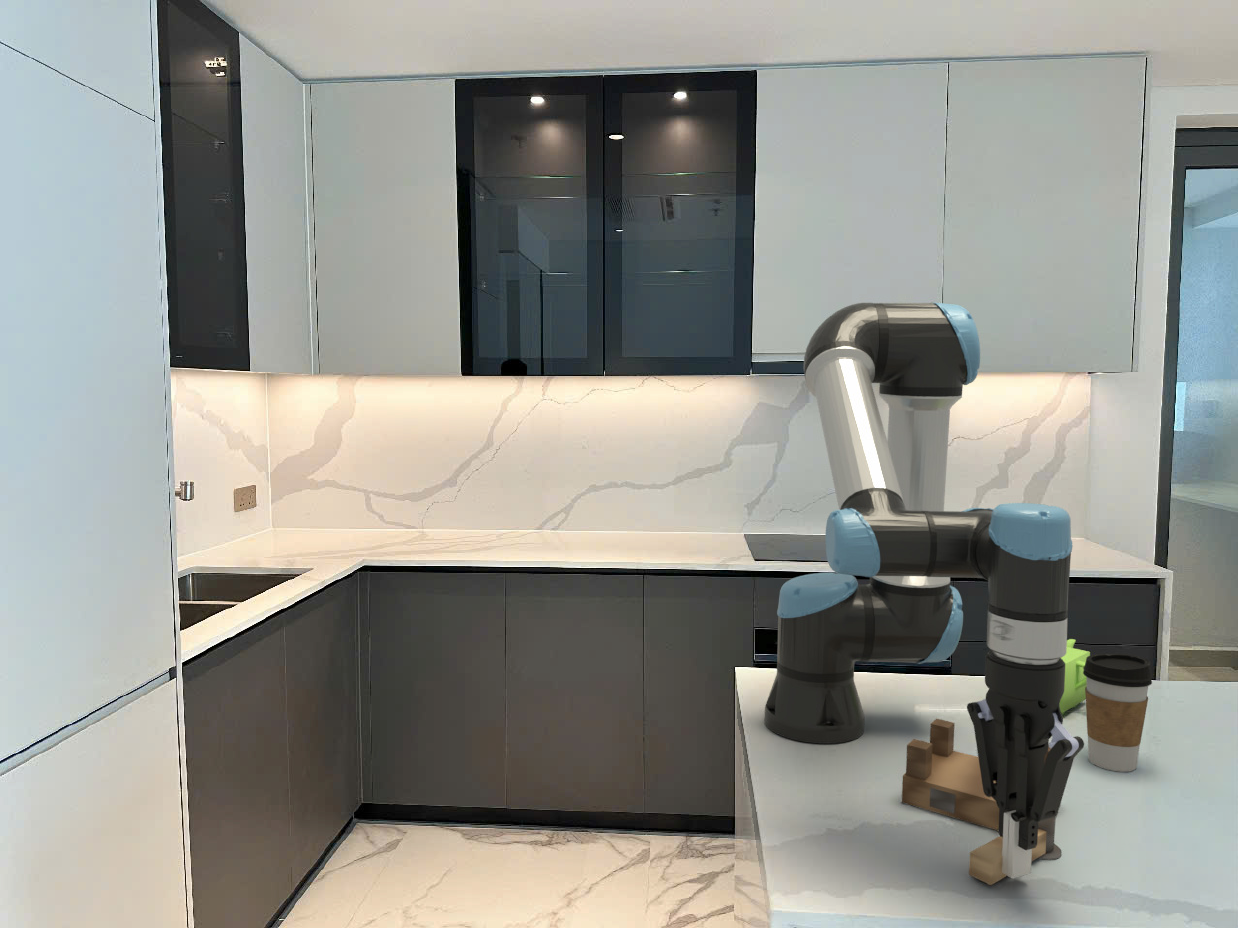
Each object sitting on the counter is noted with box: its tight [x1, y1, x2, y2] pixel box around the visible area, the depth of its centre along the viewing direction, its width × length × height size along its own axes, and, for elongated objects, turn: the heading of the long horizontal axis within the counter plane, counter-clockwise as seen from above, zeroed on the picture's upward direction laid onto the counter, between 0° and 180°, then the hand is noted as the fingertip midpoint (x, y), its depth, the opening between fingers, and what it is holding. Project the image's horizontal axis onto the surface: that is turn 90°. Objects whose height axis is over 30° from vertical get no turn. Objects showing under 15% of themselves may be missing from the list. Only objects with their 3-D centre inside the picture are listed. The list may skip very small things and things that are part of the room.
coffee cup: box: [1083, 653, 1153, 773], centre depth 124 cm, size 8×8×15 cm
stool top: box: [901, 718, 1063, 861], centre depth 109 cm, size 19×16×8 cm
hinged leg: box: [968, 817, 1056, 886], centre depth 97 cm, size 14×3×4 cm, turn 126°
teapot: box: [1059, 638, 1091, 715], centre depth 147 cm, size 15×13×11 cm
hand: (1016, 872), depth 93 cm, fingers closed
